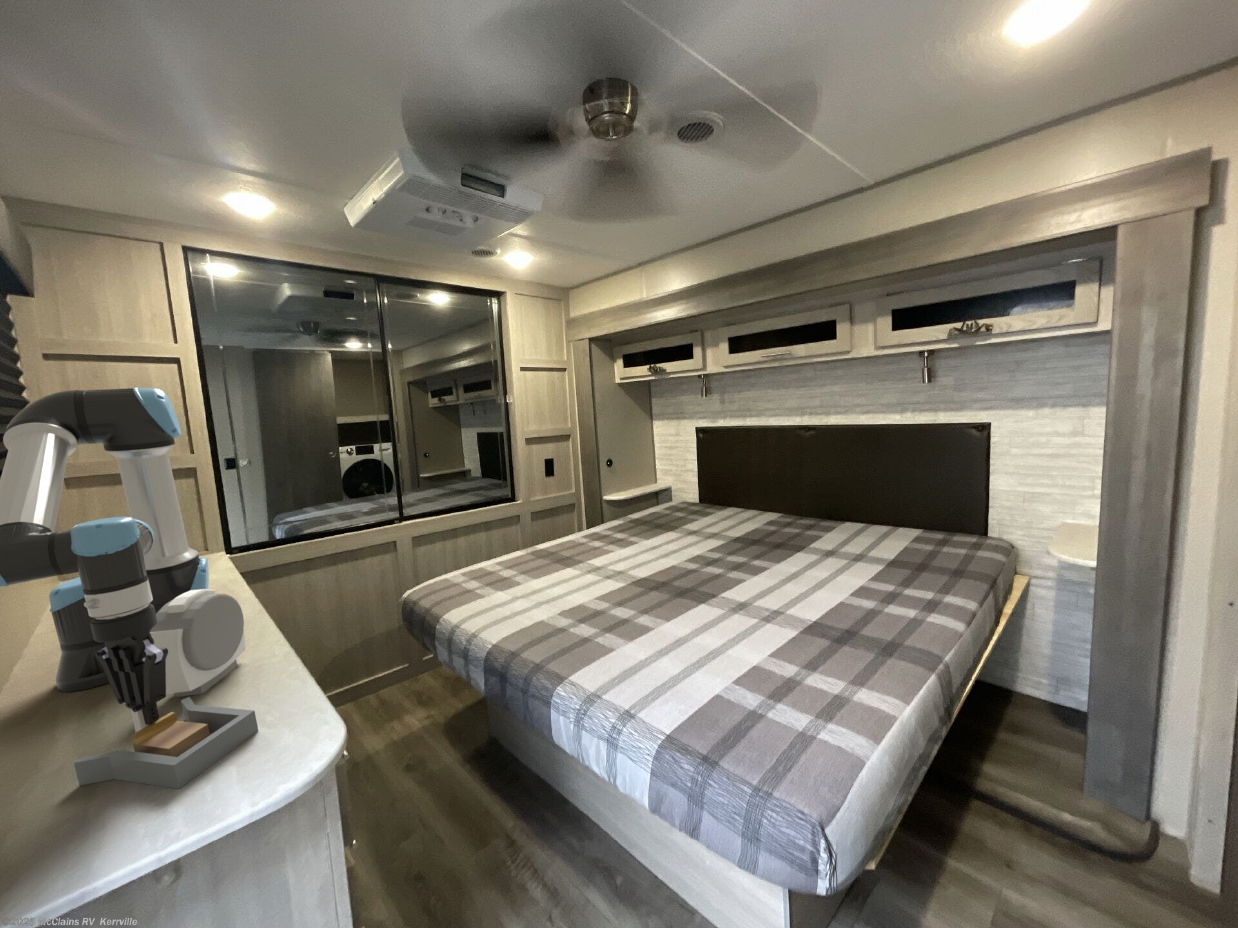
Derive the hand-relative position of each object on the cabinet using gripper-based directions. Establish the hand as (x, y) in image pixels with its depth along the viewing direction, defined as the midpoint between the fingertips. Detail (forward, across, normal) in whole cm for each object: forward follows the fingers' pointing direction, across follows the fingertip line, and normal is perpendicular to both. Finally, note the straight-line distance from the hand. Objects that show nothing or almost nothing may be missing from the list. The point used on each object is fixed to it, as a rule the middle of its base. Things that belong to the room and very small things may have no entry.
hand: (150, 738), depth 83 cm
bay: (+2, +6, 0) cm, 6 cm away
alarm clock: (+2, -13, +19) cm, 23 cm away
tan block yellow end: (+2, +5, 0) cm, 5 cm away
